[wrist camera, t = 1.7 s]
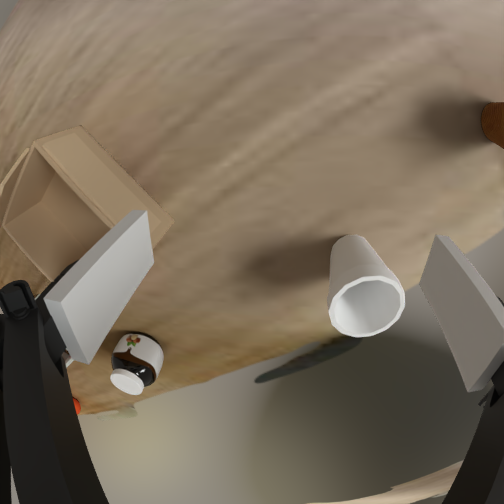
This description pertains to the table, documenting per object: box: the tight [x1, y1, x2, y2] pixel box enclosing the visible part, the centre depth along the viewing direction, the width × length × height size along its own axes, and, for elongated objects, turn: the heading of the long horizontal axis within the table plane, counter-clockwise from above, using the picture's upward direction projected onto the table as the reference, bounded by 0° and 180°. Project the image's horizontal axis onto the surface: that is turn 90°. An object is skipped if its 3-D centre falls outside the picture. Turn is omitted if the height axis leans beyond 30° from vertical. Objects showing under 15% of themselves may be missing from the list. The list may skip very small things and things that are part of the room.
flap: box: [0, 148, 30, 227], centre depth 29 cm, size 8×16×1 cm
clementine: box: [73, 398, 81, 414], centre depth 81 cm, size 8×7×7 cm
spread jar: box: [110, 332, 164, 395], centre depth 56 cm, size 12×11×12 cm
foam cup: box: [327, 235, 405, 337], centre depth 39 cm, size 10×9×13 cm
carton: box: [2, 126, 175, 282], centre depth 40 cm, size 22×19×11 cm
